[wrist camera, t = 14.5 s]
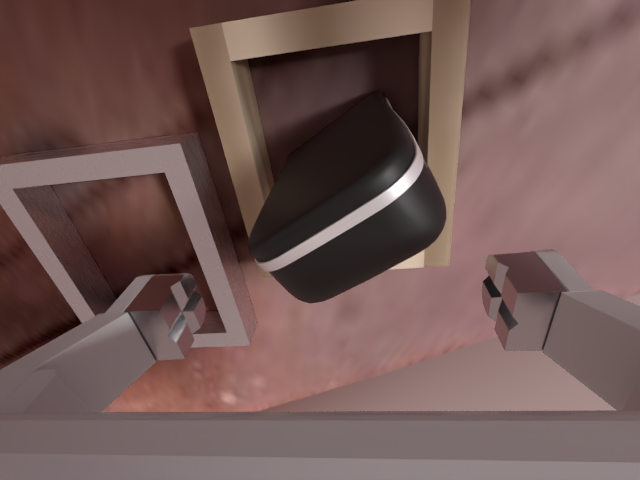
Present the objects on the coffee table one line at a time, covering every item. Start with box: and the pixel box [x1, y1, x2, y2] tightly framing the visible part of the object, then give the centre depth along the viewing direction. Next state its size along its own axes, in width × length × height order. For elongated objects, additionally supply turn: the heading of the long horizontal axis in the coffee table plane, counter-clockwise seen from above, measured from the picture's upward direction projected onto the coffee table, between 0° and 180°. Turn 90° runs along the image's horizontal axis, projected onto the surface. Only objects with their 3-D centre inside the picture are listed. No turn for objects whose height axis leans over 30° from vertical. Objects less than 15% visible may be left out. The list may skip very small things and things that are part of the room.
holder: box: [0, 132, 258, 348], centre depth 24 cm, size 13×16×2 cm
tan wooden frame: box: [189, 0, 471, 277], centre depth 19 cm, size 12×14×3 cm
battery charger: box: [248, 91, 447, 303], centre depth 15 cm, size 7×4×11 cm, turn 127°
